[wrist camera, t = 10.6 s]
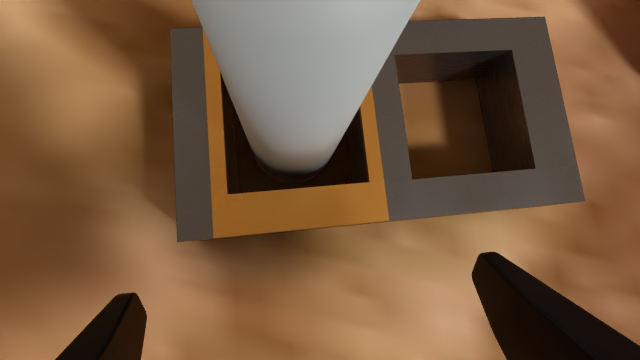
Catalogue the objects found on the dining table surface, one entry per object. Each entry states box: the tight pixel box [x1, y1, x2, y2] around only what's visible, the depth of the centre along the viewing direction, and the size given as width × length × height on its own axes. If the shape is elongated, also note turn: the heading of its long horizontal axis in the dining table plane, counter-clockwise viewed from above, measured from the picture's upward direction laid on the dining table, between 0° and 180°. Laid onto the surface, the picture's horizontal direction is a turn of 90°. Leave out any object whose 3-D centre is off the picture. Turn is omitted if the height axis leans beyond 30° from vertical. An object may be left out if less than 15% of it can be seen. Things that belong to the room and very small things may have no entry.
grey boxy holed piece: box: [170, 17, 585, 242], centre depth 16 cm, size 9×17×3 cm, turn 96°
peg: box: [192, 0, 420, 183], centre depth 11 cm, size 4×4×12 cm
